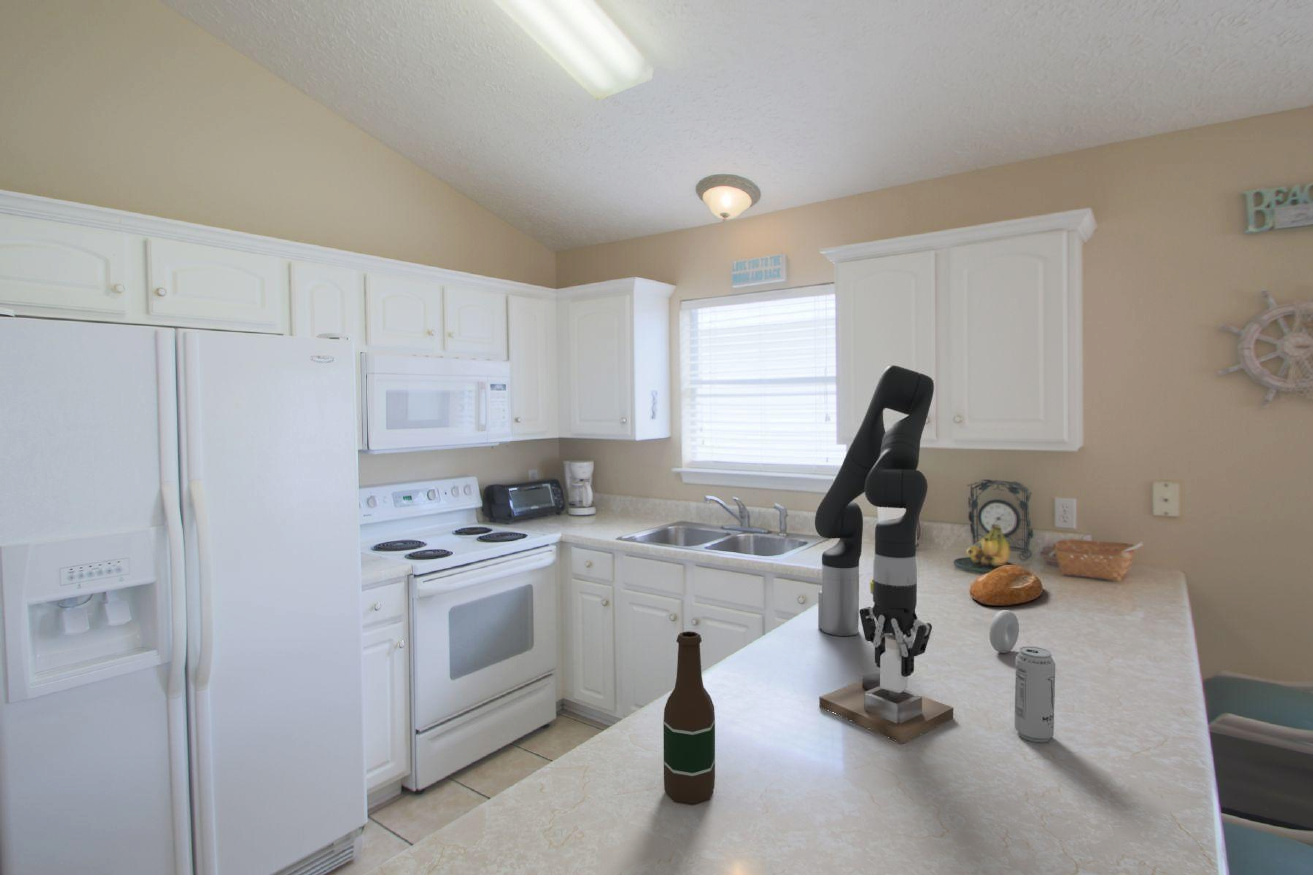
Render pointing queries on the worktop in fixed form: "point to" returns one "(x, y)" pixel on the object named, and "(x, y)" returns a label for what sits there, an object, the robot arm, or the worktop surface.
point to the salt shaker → (892, 666)
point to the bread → (1006, 586)
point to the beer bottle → (689, 729)
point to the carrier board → (886, 709)
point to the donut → (1004, 631)
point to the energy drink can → (1034, 694)
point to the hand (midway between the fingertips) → (893, 670)
